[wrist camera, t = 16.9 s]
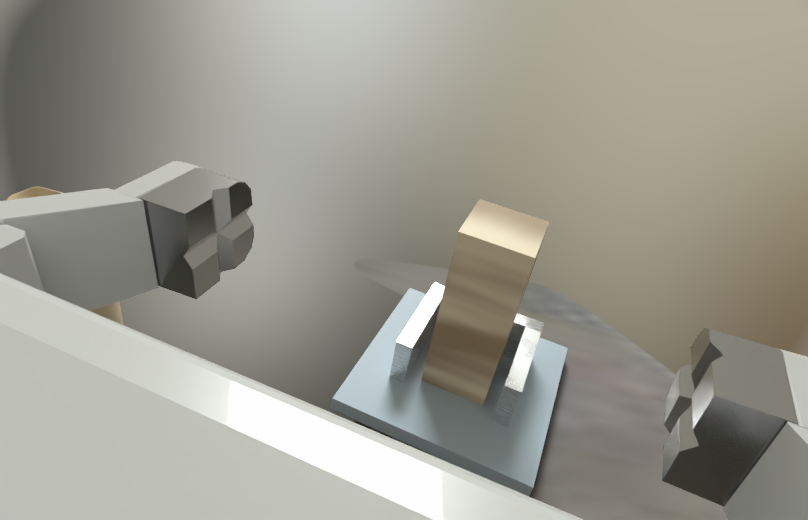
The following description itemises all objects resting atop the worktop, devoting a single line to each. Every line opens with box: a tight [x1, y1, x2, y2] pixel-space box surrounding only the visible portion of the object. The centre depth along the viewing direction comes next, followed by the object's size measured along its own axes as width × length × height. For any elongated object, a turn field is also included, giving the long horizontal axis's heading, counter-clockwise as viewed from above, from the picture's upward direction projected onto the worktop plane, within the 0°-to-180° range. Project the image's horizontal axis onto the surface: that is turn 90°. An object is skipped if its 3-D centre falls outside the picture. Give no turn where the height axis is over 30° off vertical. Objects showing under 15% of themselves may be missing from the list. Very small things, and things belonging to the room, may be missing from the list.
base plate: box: [331, 288, 567, 496], centre depth 36 cm, size 12×12×1 cm
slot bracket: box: [389, 282, 544, 427], centre depth 35 cm, size 8×7×3 cm
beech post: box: [422, 199, 549, 406], centre depth 33 cm, size 4×4×11 cm
